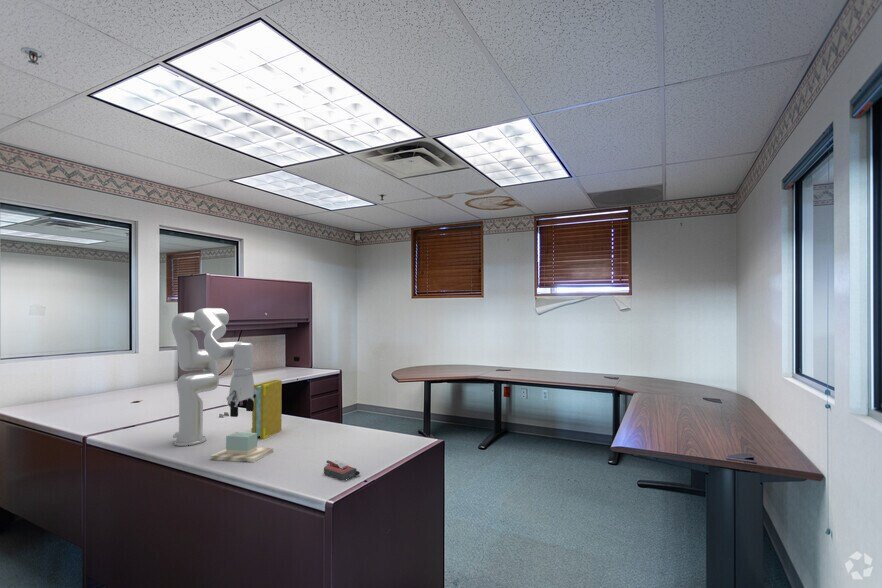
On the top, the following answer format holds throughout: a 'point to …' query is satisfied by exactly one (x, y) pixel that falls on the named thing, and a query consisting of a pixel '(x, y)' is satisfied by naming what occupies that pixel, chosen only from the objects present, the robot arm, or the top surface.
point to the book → (267, 408)
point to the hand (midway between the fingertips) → (242, 413)
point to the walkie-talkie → (340, 470)
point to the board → (240, 457)
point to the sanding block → (241, 443)
